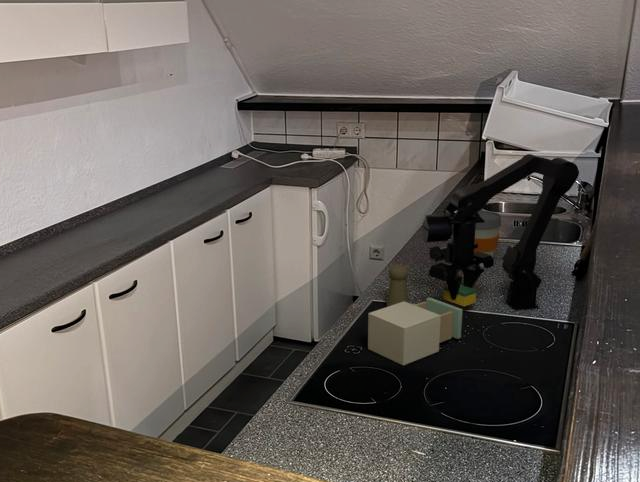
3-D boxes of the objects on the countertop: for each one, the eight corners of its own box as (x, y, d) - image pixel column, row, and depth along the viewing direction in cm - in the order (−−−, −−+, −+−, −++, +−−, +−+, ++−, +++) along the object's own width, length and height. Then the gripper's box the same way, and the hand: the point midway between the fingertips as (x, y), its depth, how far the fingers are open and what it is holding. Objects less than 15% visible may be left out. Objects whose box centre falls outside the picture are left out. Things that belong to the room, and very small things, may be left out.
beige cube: (403, 336, 185) (404, 301, 182) (438, 351, 177) (440, 315, 173) (367, 349, 179) (368, 313, 176) (403, 365, 170) (404, 328, 167)
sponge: (443, 299, 201) (444, 286, 200) (455, 295, 203) (455, 282, 202) (464, 306, 196) (464, 293, 194) (475, 302, 198) (476, 289, 197)
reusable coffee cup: (449, 265, 234) (452, 217, 228) (464, 254, 243) (467, 208, 238) (489, 271, 227) (493, 222, 222) (503, 259, 237) (507, 213, 231)
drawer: (431, 323, 190) (433, 296, 187) (464, 336, 182) (466, 308, 179) (398, 335, 183) (398, 307, 181) (430, 349, 176) (431, 320, 173)
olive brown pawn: (408, 309, 201) (409, 270, 197) (385, 308, 202) (386, 269, 198) (409, 301, 207) (410, 262, 203) (387, 300, 208) (388, 262, 204)
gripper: (463, 226, 204) (459, 281, 210) (414, 240, 194) (412, 297, 200) (496, 235, 196) (492, 291, 202) (447, 249, 186) (444, 309, 192)
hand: (459, 297), depth 199 cm, fingers closed on sponge, 4 cm apart
